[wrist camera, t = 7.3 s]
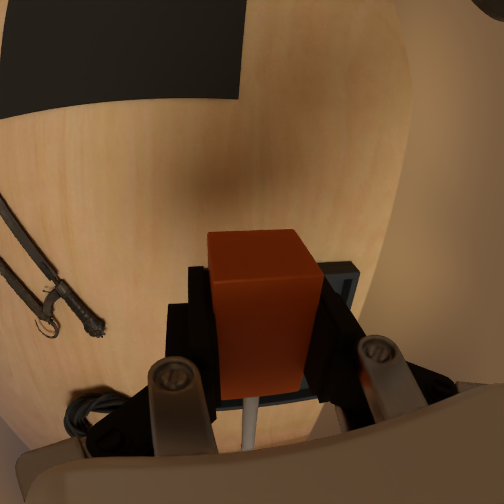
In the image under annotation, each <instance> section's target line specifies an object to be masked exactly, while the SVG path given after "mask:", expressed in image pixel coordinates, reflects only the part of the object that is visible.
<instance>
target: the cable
mask: <svg viewBox="0 0 504 504" xmlns="http://www.w3.org/2000/svg"><path fill="white" fill-rule="evenodd" d="M126 401H127V400H126V399H124V398H122V397H119V396H118V395H117V394H115V393H112V392H109V393H106V394H104V395H102V394H95V393H92V394H86V395H83V396H81V397H80V398H78V399H77V400H75V401H73V402H72V403H71V404H70V405H69V406H68V408H67V410H66V413H65V417H64V427H65V429H66V431H67V433H68V434H69V435H70V436H71V437H74V436H77V437H78V438H81V437H84V436H86V435H87V433H88V432H89V430H90V429H91V427H90V425H89V424H88V423H87V422H84V418H85V417H86V416H87V415H88V414H89V412H90V411H92V412H98V413H111V412H113V411H114V410H115V409H117V408H118V407H119V406H121V405H122V404H123V403H125V402H126Z"/></svg>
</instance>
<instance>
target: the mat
mask: <svg viewBox="0 0 504 504" xmlns="http://www.w3.org/2000/svg"><path fill="white" fill-rule="evenodd" d="M246 1H247V0H9V1H8V6H7V11H6V17H5V23H4V30H3V37H2V46H1V57H0V119H3V118H8V117H12V116H17V115H21V114H26V113H31V112H36V111H42V110H48V109H54V108H60V107H66V106H74V105H81V104H89V103H99V102H109V101H121V100H135V99H156V98H220V99H238V97H239V83H240V71H241V58H242V46H243V34H244V23H245V12H246Z"/></svg>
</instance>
